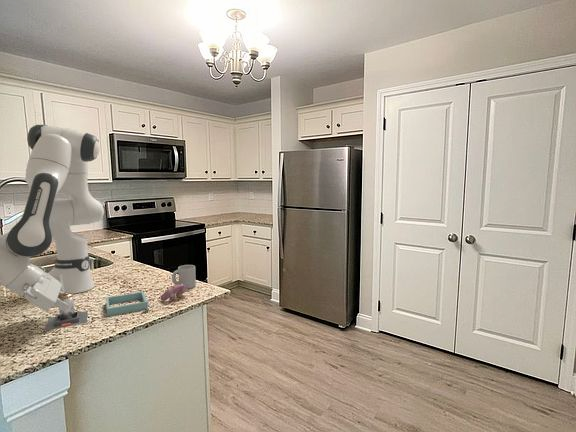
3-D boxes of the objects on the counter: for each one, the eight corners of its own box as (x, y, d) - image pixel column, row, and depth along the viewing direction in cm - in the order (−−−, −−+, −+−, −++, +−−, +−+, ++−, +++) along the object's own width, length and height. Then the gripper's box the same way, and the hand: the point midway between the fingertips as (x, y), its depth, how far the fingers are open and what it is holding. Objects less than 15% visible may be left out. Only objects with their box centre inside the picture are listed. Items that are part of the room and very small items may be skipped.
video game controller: (165, 306, 122) (170, 292, 120) (158, 299, 124) (163, 285, 122) (185, 298, 131) (190, 285, 129) (178, 292, 133) (183, 278, 131)
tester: (44, 335, 96) (43, 327, 96) (49, 321, 105) (48, 314, 105) (87, 327, 102) (86, 319, 101) (88, 314, 111) (87, 307, 111)
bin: (107, 320, 106) (106, 309, 106) (106, 307, 117) (106, 297, 117) (148, 312, 113) (147, 301, 112) (143, 301, 124) (143, 291, 123)
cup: (196, 287, 139) (195, 268, 139) (172, 290, 136) (171, 270, 135) (195, 283, 146) (194, 264, 145) (172, 285, 142) (171, 266, 142)
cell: (56, 322, 102) (54, 295, 101) (67, 317, 106) (65, 290, 105) (67, 323, 101) (65, 295, 100) (77, 318, 105) (75, 291, 104)
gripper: (30, 281, 89) (74, 307, 95) (41, 265, 107) (78, 288, 113) (10, 299, 87) (57, 325, 93) (25, 280, 105) (63, 302, 111)
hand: (68, 305), depth 103 cm, fingers closed on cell, 4 cm apart
